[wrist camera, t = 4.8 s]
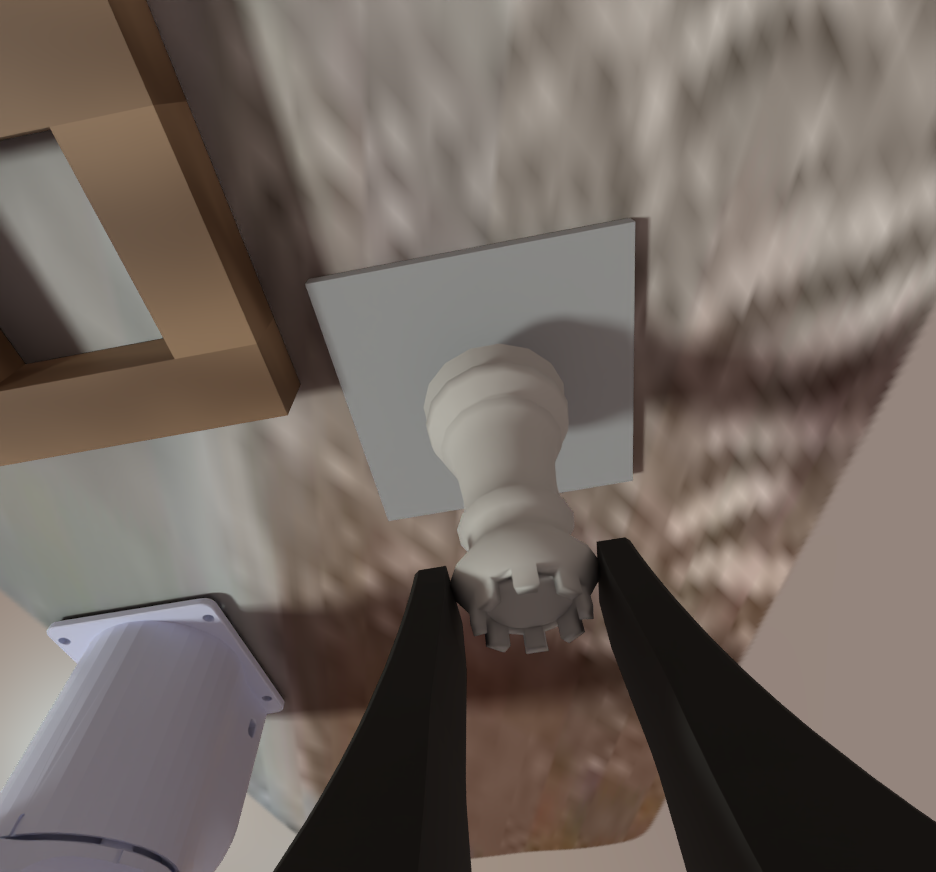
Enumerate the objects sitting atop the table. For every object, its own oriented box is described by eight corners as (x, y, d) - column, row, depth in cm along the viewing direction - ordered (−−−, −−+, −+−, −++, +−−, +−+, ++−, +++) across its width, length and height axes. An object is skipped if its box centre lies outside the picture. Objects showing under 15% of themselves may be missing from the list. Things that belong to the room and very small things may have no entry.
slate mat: (628, 472, 22) (632, 480, 21) (389, 512, 22) (388, 521, 22) (630, 217, 16) (635, 221, 16) (308, 279, 16) (305, 284, 16)
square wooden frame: (300, 384, 19) (287, 414, 17) (4, 437, 19) (-37, 472, 17) (136, -25, 12) (90, -40, 11) (-297, 72, 13) (-403, 72, 11)
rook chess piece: (500, 306, 15) (553, 513, 9) (590, 397, 17) (683, 615, 11) (394, 399, 17) (374, 627, 11) (487, 471, 19) (518, 695, 13)
